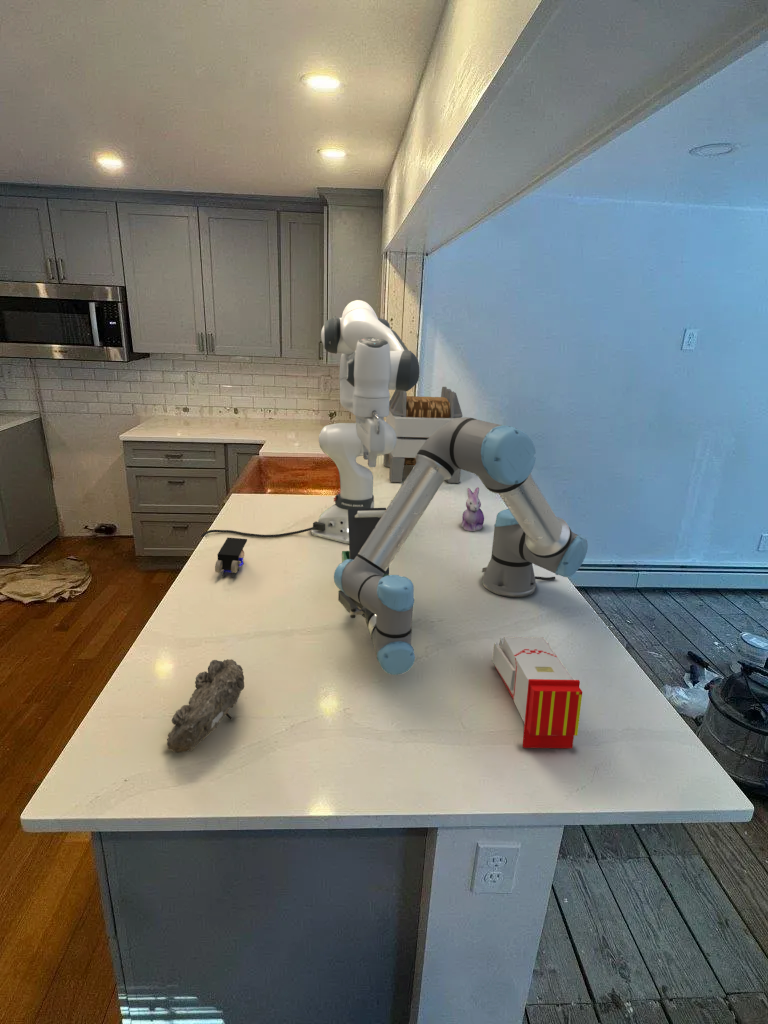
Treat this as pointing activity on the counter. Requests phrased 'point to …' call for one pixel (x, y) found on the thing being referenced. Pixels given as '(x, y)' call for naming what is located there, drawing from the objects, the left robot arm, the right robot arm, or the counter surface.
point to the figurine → (473, 512)
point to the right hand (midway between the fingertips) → (367, 579)
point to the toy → (539, 691)
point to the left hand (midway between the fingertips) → (369, 462)
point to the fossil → (206, 705)
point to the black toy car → (230, 556)
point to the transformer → (417, 427)
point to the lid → (362, 527)
